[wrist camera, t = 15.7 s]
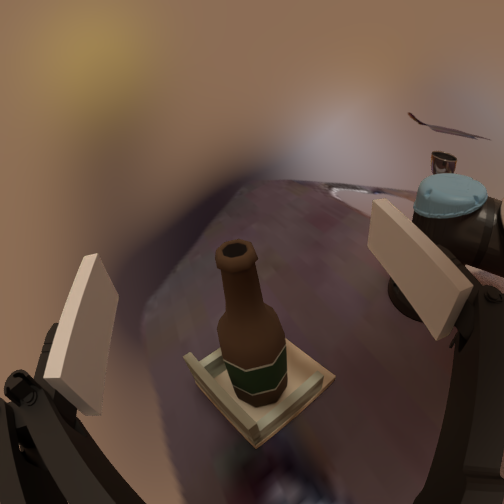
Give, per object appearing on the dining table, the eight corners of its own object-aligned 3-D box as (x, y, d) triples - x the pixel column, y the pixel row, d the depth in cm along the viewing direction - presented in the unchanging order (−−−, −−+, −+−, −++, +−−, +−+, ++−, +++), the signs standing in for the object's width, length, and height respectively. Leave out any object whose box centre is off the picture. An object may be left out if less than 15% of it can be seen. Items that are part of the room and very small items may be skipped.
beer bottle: (223, 381, 41) (175, 247, 26) (265, 354, 44) (246, 215, 30) (254, 419, 35) (217, 295, 21) (299, 387, 39) (300, 249, 24)
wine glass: (420, 198, 79) (426, 151, 70) (436, 194, 81) (443, 150, 72) (437, 210, 73) (445, 161, 64) (453, 205, 74) (462, 159, 65)
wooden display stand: (272, 331, 49) (268, 297, 44) (334, 380, 40) (341, 349, 35) (197, 385, 42) (181, 356, 37) (256, 449, 33) (248, 430, 28)
